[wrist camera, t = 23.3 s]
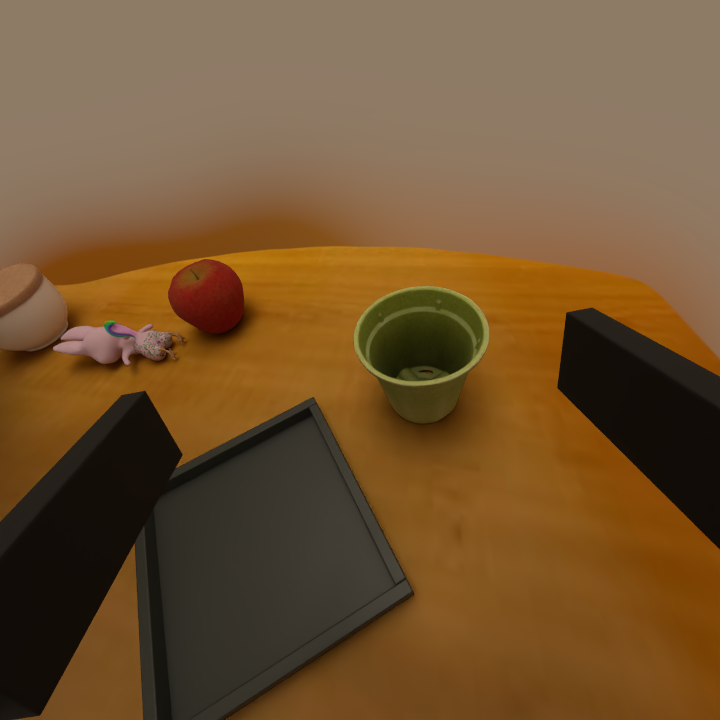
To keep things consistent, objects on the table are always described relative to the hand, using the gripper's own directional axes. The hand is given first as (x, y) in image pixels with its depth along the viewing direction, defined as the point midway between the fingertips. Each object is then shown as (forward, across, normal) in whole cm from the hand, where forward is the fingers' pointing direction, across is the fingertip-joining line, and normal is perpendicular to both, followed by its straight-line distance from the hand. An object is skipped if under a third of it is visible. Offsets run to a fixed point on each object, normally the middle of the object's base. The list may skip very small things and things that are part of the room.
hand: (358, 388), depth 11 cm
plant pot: (+16, +4, -13) cm, 21 cm away
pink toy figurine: (+29, -28, -9) cm, 42 cm away
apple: (+31, -16, -8) cm, 36 cm away
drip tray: (+7, -10, -17) cm, 21 cm away
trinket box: (+36, -43, -6) cm, 56 cm away
